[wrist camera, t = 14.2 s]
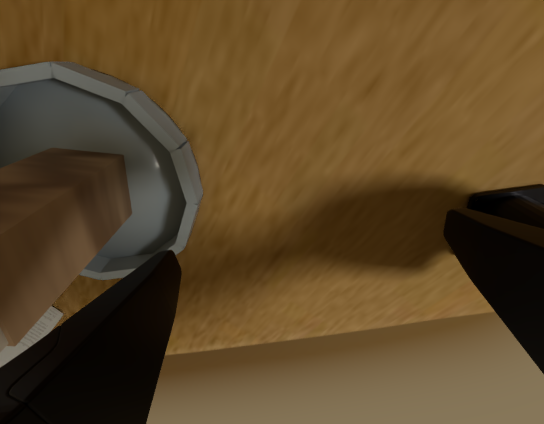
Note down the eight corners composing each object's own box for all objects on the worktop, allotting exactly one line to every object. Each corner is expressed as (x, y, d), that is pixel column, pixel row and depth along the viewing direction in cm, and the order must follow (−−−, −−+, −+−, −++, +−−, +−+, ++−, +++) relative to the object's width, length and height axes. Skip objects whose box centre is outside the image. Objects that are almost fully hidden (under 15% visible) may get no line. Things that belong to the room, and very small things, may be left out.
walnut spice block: (123, 154, 20) (-63, 275, 9) (132, 213, 22) (-5, 368, 11) (52, 147, 20) (-240, 263, 8) (68, 208, 22) (-141, 362, 11)
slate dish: (163, 46, 17) (149, 44, 15) (221, 247, 25) (217, 265, 23) (-69, 86, 18) (-115, 89, 16) (56, 269, 26) (36, 288, 24)
